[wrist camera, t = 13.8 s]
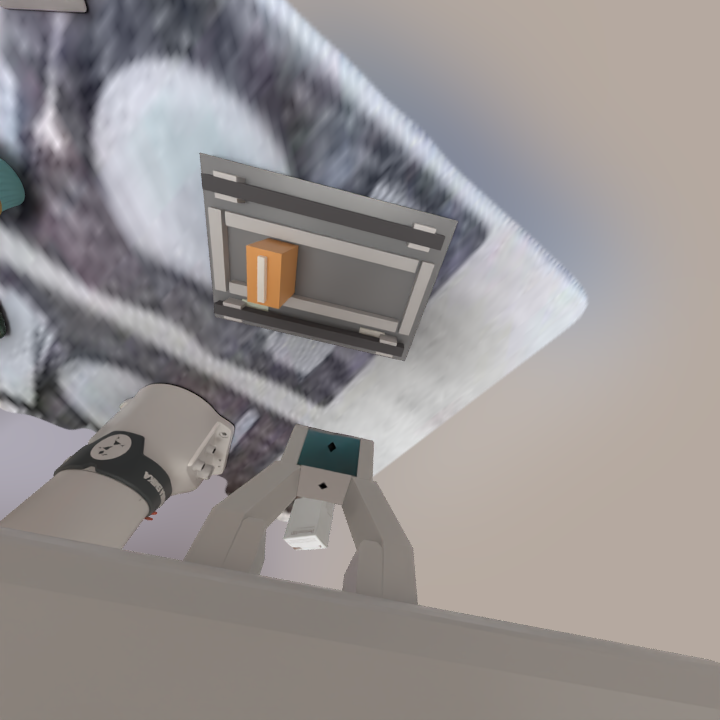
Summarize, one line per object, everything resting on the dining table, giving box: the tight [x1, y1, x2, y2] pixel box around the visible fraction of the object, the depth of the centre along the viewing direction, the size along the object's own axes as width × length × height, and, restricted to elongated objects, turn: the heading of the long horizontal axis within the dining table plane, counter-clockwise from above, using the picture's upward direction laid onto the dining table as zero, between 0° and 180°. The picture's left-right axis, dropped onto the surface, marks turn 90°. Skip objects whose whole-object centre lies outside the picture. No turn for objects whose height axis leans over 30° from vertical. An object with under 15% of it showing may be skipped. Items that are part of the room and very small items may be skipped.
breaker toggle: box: [246, 238, 298, 309], centre depth 25 cm, size 5×3×6 cm, turn 168°
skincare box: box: [283, 496, 335, 550], centre depth 44 cm, size 6×4×12 cm
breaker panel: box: [200, 153, 458, 361], centre depth 28 cm, size 16×24×4 cm, turn 77°
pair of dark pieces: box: [201, 173, 445, 357], centre depth 26 cm, size 13×22×1 cm, turn 77°
